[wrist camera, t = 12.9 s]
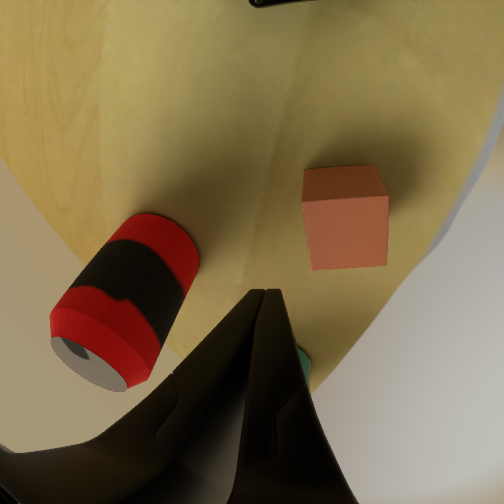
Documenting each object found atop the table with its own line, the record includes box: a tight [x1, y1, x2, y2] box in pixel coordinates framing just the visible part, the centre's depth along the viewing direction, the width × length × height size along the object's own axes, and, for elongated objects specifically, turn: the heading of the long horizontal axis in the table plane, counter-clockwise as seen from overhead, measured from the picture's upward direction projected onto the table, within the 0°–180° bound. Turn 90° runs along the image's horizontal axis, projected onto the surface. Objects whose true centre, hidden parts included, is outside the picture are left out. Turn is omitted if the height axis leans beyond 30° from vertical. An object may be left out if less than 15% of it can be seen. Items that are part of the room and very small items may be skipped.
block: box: [301, 164, 389, 270], centre depth 17 cm, size 4×4×4 cm
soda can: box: [50, 214, 199, 392], centre depth 20 cm, size 8×8×12 cm
